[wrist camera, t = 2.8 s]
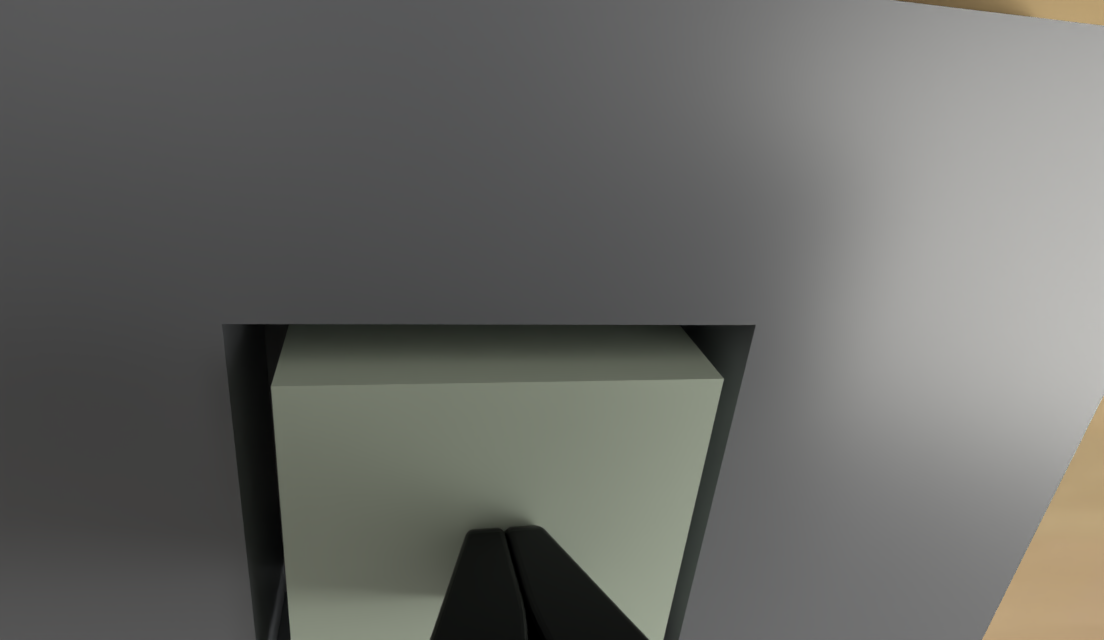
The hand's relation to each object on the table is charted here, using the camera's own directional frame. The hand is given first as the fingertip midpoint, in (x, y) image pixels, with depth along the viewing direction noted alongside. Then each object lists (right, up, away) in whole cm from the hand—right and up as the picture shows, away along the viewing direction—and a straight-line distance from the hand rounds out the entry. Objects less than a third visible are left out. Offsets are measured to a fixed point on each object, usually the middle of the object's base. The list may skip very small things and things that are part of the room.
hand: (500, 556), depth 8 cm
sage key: (0, +1, +2) cm, 2 cm away
